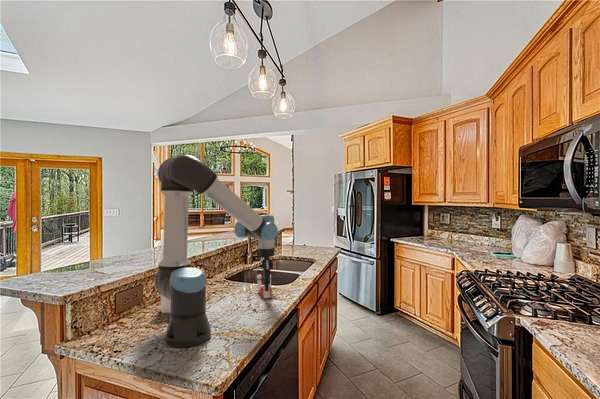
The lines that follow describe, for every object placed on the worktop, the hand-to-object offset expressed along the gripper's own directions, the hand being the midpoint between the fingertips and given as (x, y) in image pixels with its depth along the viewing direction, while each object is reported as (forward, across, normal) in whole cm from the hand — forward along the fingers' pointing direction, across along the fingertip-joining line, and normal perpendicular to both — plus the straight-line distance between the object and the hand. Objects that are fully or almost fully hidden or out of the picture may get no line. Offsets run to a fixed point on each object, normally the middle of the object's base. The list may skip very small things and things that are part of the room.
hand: (266, 297), depth 146 cm
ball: (-1, +6, 0) cm, 7 cm away
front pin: (+1, +11, 0) cm, 11 cm away
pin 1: (+2, +14, +2) cm, 15 cm away
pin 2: (+2, +14, -2) cm, 15 cm away
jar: (+2, -3, +42) cm, 42 cm away
